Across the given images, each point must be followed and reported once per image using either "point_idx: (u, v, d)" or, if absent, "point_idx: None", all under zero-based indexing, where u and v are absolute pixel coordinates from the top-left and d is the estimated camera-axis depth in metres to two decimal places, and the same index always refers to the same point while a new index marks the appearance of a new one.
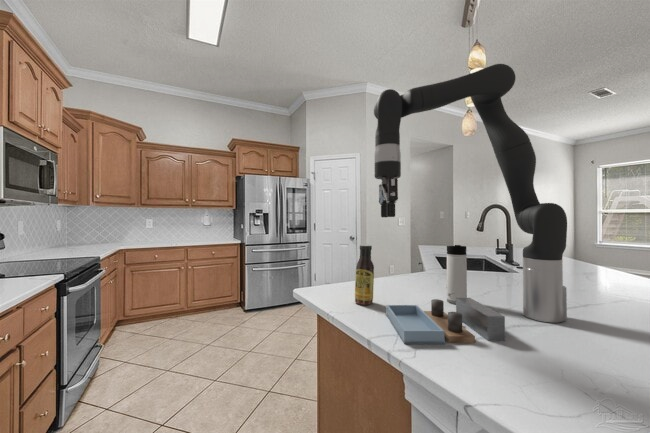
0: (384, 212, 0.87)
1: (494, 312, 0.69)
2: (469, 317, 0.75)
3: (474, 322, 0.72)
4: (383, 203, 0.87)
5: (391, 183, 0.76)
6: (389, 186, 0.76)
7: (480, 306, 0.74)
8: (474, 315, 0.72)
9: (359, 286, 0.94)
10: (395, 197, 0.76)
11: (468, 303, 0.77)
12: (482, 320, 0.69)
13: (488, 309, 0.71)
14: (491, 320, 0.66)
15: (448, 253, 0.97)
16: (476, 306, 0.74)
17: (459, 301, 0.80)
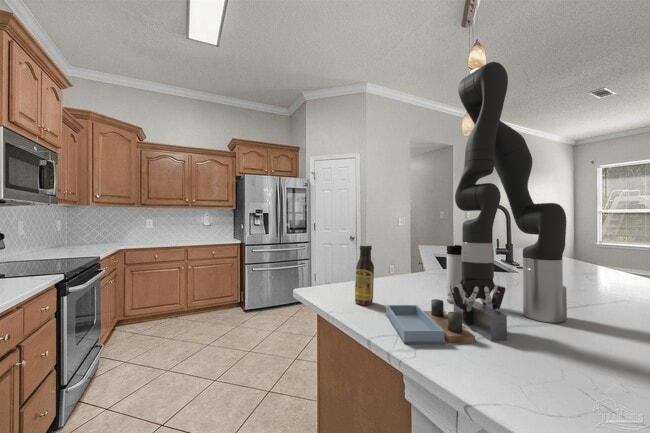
0: None
1: (495, 311, 0.69)
2: None
3: (475, 322, 0.72)
4: None
5: None
6: None
7: (480, 305, 0.74)
8: (475, 314, 0.72)
9: (359, 286, 0.94)
10: None
11: None
12: (484, 320, 0.68)
13: (488, 308, 0.72)
14: (494, 319, 0.66)
15: (448, 253, 0.97)
16: (476, 305, 0.74)
17: None
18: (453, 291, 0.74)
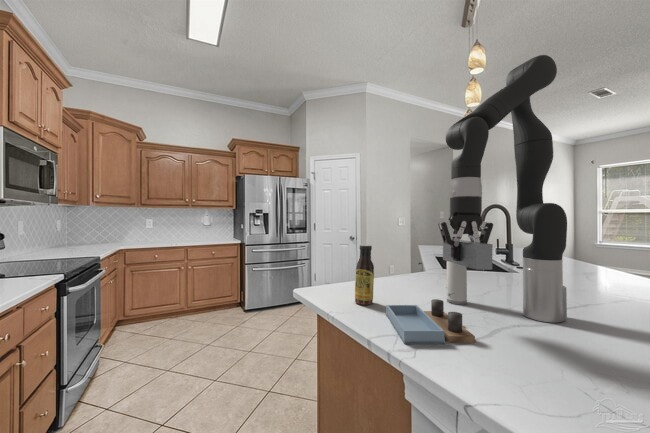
0: None
1: (482, 243, 0.69)
2: None
3: (462, 256, 0.72)
4: None
5: None
6: None
7: (467, 241, 0.74)
8: (462, 248, 0.72)
9: (359, 286, 0.94)
10: None
11: None
12: (470, 250, 0.69)
13: (476, 242, 0.72)
14: (479, 247, 0.67)
15: None
16: (464, 241, 0.74)
17: None
18: (441, 227, 0.74)
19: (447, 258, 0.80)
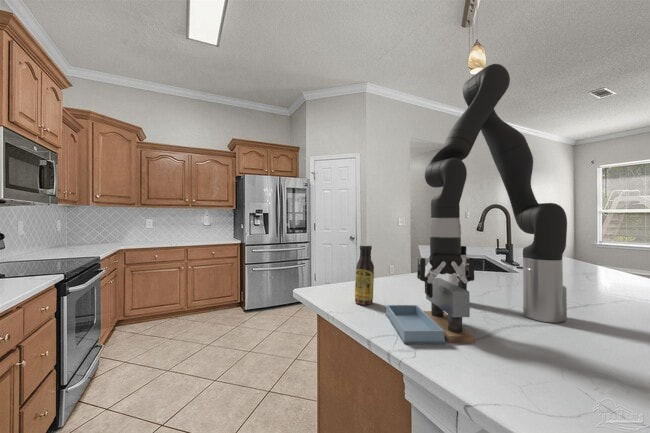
0: None
1: (460, 288, 0.69)
2: (437, 296, 0.75)
3: (441, 300, 0.72)
4: None
5: None
6: None
7: (448, 284, 0.74)
8: (441, 292, 0.73)
9: (359, 286, 0.94)
10: None
11: (436, 282, 0.77)
12: (448, 297, 0.69)
13: (455, 286, 0.72)
14: (456, 295, 0.67)
15: None
16: (444, 284, 0.74)
17: None
18: (419, 262, 0.74)
19: (429, 298, 0.80)
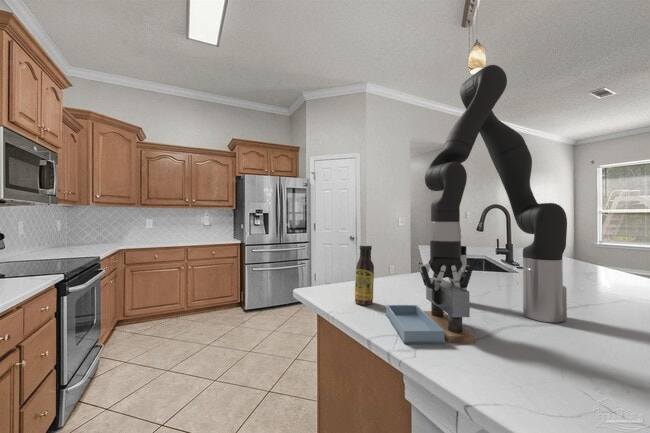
0: None
1: (460, 288, 0.69)
2: None
3: (441, 300, 0.72)
4: None
5: None
6: None
7: (448, 284, 0.74)
8: (441, 292, 0.73)
9: (359, 286, 0.94)
10: None
11: None
12: (448, 297, 0.69)
13: (455, 286, 0.72)
14: (456, 295, 0.67)
15: None
16: (444, 284, 0.74)
17: None
18: (421, 270, 0.74)
19: (429, 298, 0.80)
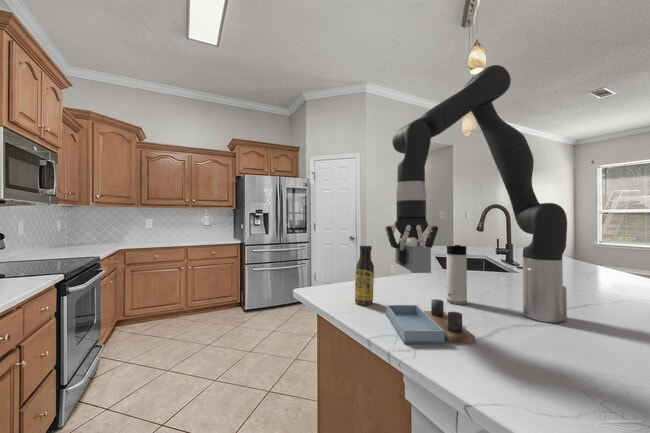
0: None
1: (423, 246, 0.70)
2: None
3: (406, 259, 0.73)
4: None
5: None
6: (435, 235, 0.74)
7: (413, 244, 0.74)
8: (406, 251, 0.73)
9: (359, 286, 0.94)
10: None
11: None
12: (411, 254, 0.69)
13: (419, 245, 0.72)
14: (417, 251, 0.67)
15: (448, 253, 0.97)
16: (409, 244, 0.74)
17: None
18: (387, 231, 0.74)
19: (397, 261, 0.80)
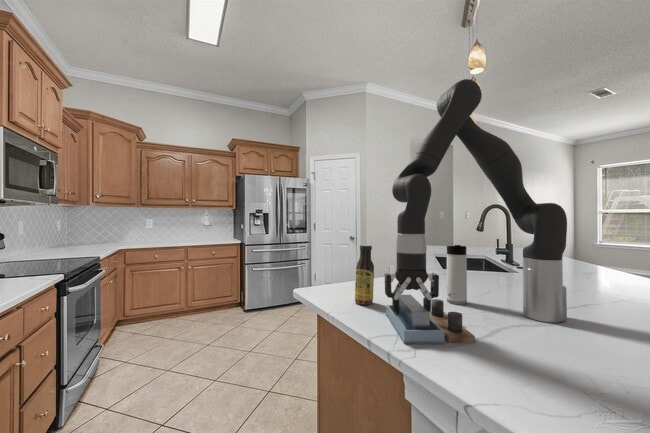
0: None
1: (422, 308, 0.69)
2: (403, 314, 0.75)
3: (405, 319, 0.73)
4: None
5: None
6: None
7: (413, 303, 0.74)
8: (405, 311, 0.73)
9: (359, 286, 0.94)
10: None
11: (404, 300, 0.77)
12: (409, 317, 0.69)
13: (419, 306, 0.72)
14: (416, 316, 0.67)
15: (448, 253, 0.97)
16: (409, 303, 0.74)
17: (398, 298, 0.81)
18: (385, 278, 0.74)
19: (398, 315, 0.80)
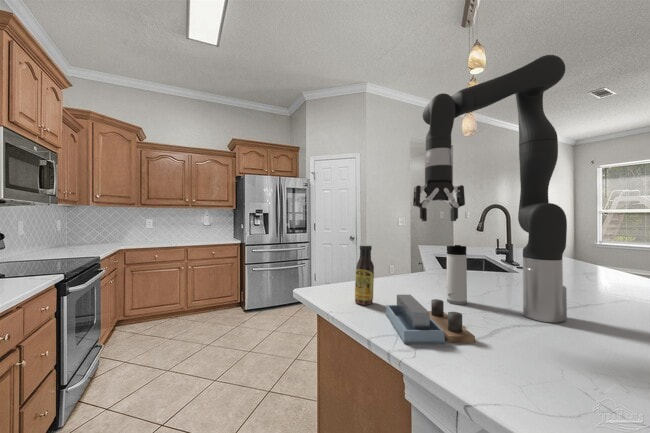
0: None
1: (422, 308, 0.69)
2: (403, 314, 0.75)
3: (405, 319, 0.73)
4: None
5: None
6: (463, 192, 0.82)
7: (413, 303, 0.74)
8: (405, 311, 0.73)
9: (359, 286, 0.94)
10: None
11: (404, 300, 0.77)
12: (409, 317, 0.69)
13: (419, 306, 0.72)
14: (416, 316, 0.67)
15: (448, 253, 0.97)
16: (409, 303, 0.74)
17: (398, 298, 0.81)
18: (415, 189, 0.83)
19: (398, 315, 0.80)
